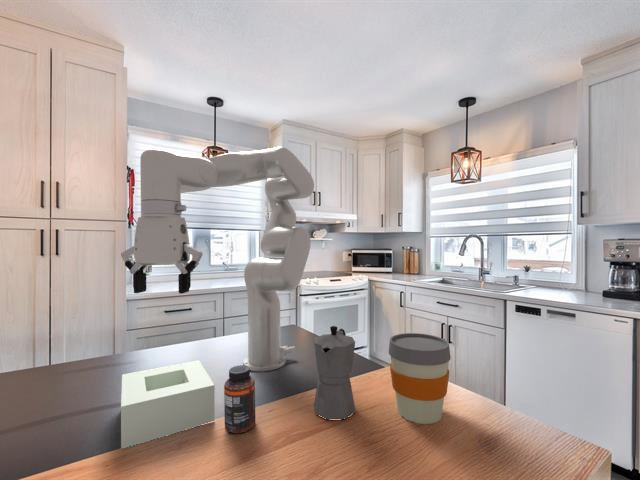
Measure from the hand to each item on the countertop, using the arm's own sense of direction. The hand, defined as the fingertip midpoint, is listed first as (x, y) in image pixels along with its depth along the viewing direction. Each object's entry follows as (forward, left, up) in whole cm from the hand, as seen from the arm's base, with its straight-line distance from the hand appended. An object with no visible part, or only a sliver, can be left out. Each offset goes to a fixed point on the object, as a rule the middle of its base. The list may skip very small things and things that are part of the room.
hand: (162, 292), depth 67 cm
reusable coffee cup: (-47, +27, -26) cm, 60 cm away
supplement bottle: (-13, +12, -26) cm, 31 cm away
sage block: (-1, 0, -26) cm, 26 cm away
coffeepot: (-33, +16, -26) cm, 45 cm away
